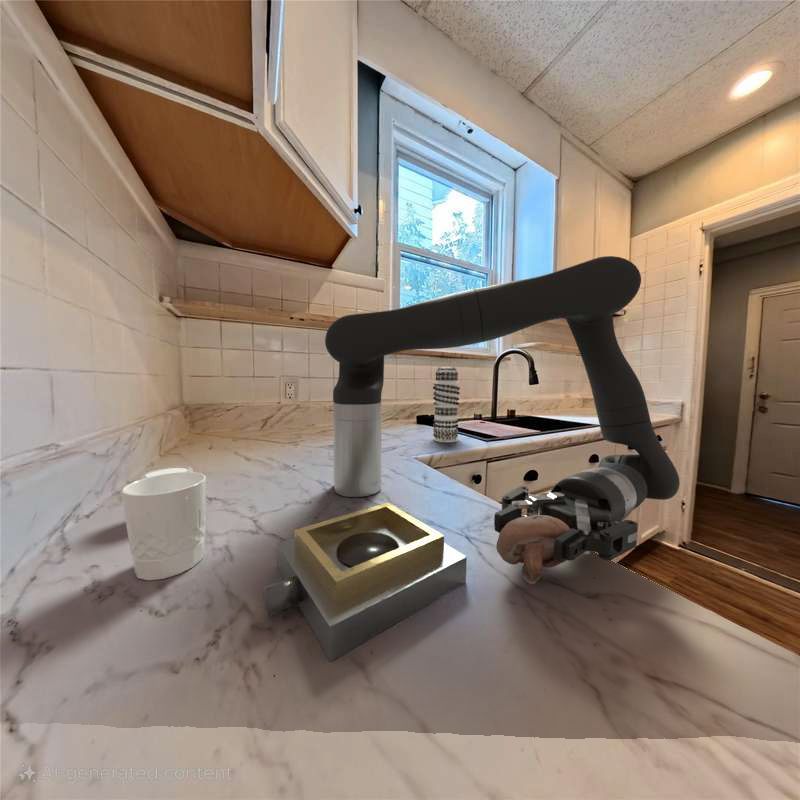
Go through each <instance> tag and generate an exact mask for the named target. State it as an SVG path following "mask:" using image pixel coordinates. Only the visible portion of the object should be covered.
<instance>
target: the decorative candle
mask: <svg viewBox="0 0 800 800" xmlns="http://www.w3.org/2000/svg"><path fill="white" fill-rule="evenodd" d="M458 375H459V371H458V370H457V368H456V367H455V366H440V367H438V368H437V369H436V371H435V380H434V383H433V386H432V389H433V390H434V392H433V393H432V394H433V397H432V400H434V402H433V406H434V419H433V422H434V423H433V424H432V425H433V427H434V428H433V429H432V430H433V431H432V432H433V433H432V436H433V438H432V439H433V441H436V442H437V443H438V442H439V443H455V442H458V441H459V440H458V439H459V435H458V433H459V430H458V427H459V424H458V423H459V419H458V407H459V405H460V403H459V402H458V401H459V400H460V398H459V395H460V394H461V393H460V391H459V390H461V388H460V386H459V376H458Z"/></svg>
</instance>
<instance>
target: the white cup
mask: <svg viewBox="0 0 800 800" xmlns="http://www.w3.org/2000/svg"><path fill="white" fill-rule="evenodd" d="M206 481H207V476H206V475H205V474H204V473H202V472H196V471H193V472H177V473H168V474H162V475H157V476H152V477H148V478H144V479H141V480H140V479H138V480H136V481H133V482H131V483H129V484H127V485H125V486H124V487H123V488H122V489H121V496H122V503H123V511H124V520H125V526H126V532H127V538H128V545H129V550H130V554H131V556H132V563H133V564H132V565H133V572H134V575H135V576H136V577H137V579H139V580H143V581H156V580H163V579H167V578H170V577H174V576H177V575H180V574H182V573H184V572H186V571H188V570H190V569H191V568H193V567H195V566H196V565H197V564H198V563H199V562H201V560H202V559H203V557H204V554H205V535H206V534H205V533H206V512H207V511H206V510H207V509H206V508H207V507H206V505H207V504H206V500H207V495H206V494H207V493H206V492H207V488H206V485H207V482H206Z"/></svg>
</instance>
